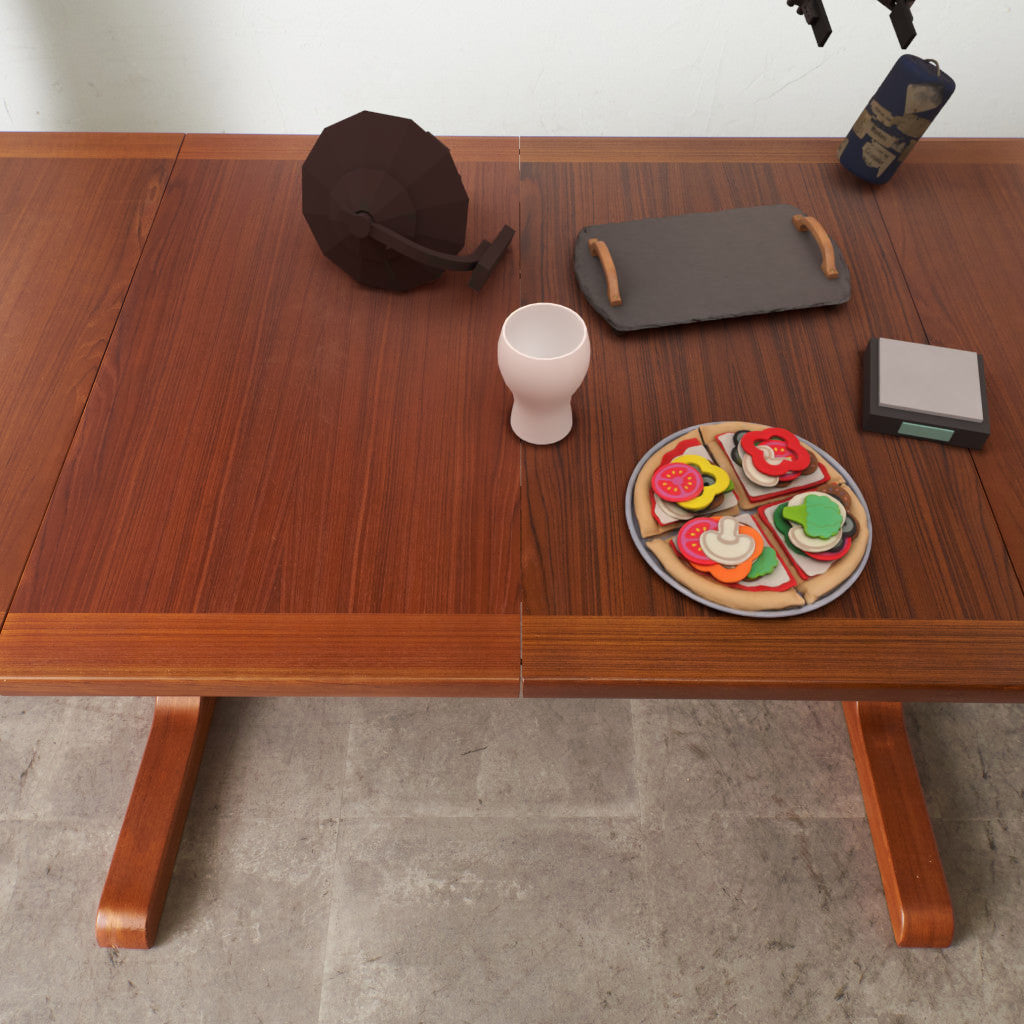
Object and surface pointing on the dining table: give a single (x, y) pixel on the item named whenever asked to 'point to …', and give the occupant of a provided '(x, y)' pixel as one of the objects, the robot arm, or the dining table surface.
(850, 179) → the dining table surface
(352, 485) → the dining table surface
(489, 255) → the dark brown piece
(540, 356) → the cup
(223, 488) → the dining table surface
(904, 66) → the canister
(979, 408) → the scale
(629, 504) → the toy pizza
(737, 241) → the serving tray
